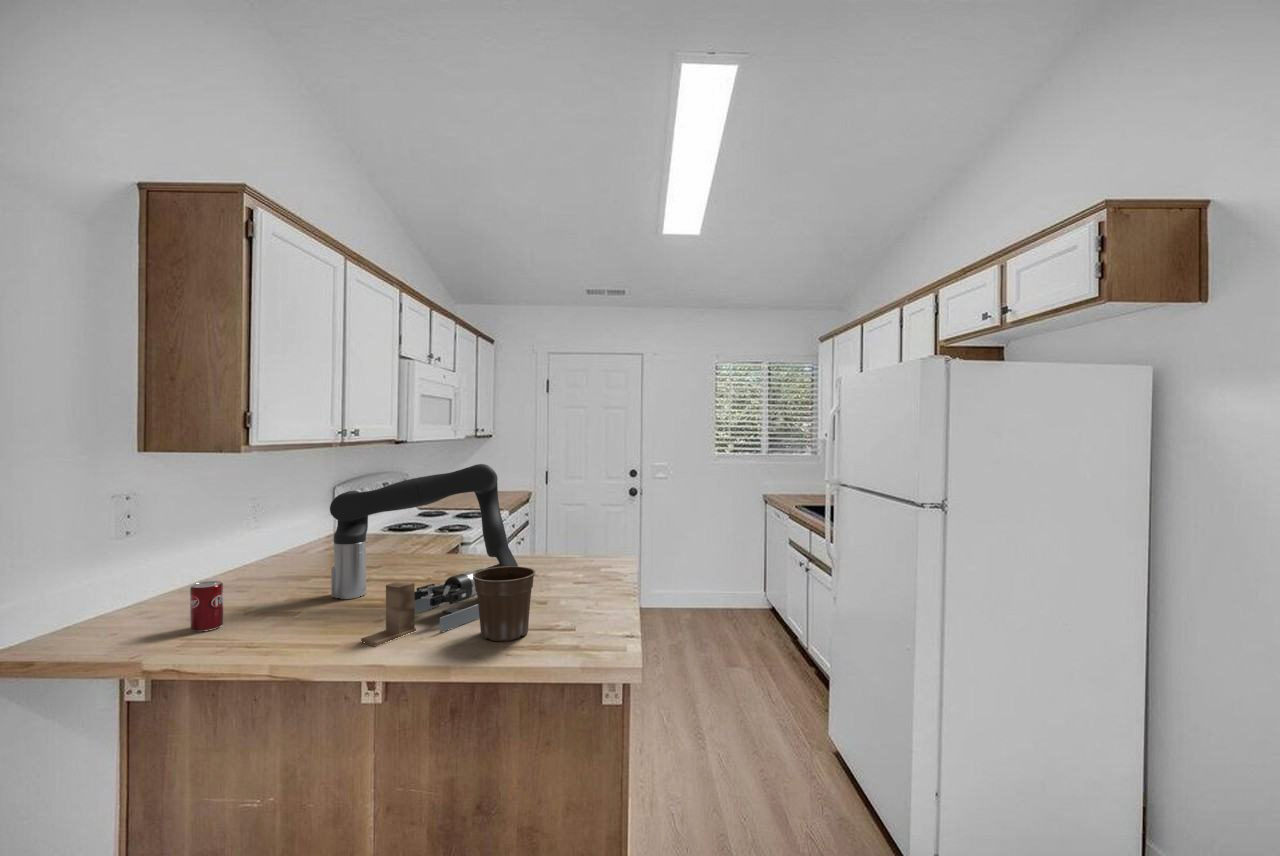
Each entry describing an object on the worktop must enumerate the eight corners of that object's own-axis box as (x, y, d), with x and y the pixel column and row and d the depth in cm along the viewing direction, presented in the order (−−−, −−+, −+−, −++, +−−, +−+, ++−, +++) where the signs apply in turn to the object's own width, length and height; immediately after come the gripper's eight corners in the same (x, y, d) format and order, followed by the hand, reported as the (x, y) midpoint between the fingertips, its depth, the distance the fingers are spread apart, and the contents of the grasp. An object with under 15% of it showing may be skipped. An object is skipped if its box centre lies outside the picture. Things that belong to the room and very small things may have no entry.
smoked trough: (437, 606, 185) (437, 593, 185) (484, 616, 176) (484, 602, 176) (392, 621, 172) (392, 606, 171) (441, 633, 162) (441, 618, 162)
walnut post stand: (400, 628, 166) (400, 580, 166) (415, 632, 163) (415, 583, 163) (361, 642, 155) (360, 591, 155) (376, 646, 152) (376, 594, 152)
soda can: (188, 634, 161) (187, 588, 161) (193, 626, 167) (192, 582, 167) (221, 630, 164) (221, 585, 164) (225, 622, 171) (224, 579, 170)
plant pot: (468, 628, 166) (468, 568, 166) (527, 620, 172) (527, 563, 172) (477, 648, 151) (477, 583, 151) (542, 639, 157) (542, 576, 157)
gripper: (447, 570, 185) (402, 582, 171) (482, 576, 178) (438, 590, 164) (447, 595, 185) (402, 609, 171) (482, 602, 178) (438, 618, 164)
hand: (420, 600), depth 168 cm, fingers open, 8 cm apart
